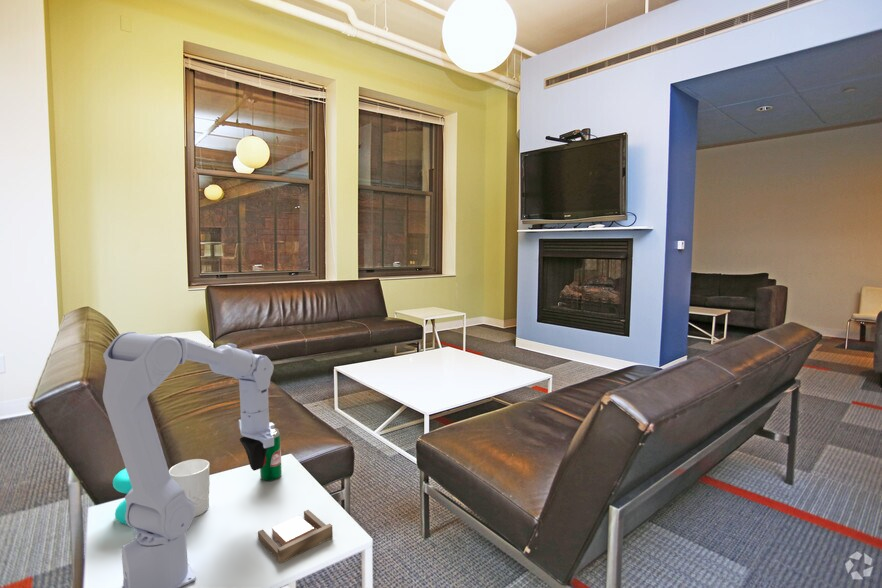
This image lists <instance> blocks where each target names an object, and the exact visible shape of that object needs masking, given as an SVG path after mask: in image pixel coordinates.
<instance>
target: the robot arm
mask: <svg viewBox="0 0 882 588" xmlns="http://www.w3.org/2000/svg"><path fill="white" fill-rule="evenodd" d="M237 347H238V345H237V344H235V343H231V342H230V343H229V342H228V343H226V344H221V345H219V346H217V347H212V346H210V345H206V344H203V343H200V342H198V341H195V340H192V339H189V338H188V337H187V338H186V337H178V336H172V335H157V334H148V333H138V332H135V331H126V332H122V333H120V334H119V335H117V336H116V337H115V338H114V339H113V340H112V341H111V343H110V344H109V345H108V347H107V348H106V349H105V351H104V353H103V354H102V357H103V360H104V363H105V365H106V366H105V367H106V370H105V377H104V383H103V384H104V385H103V389H102V390H103V391H102V401H103V404H104V405H103V406H104V407H105V410H106V413H107V416H108V418H109V422H110V425H111V428H112V431H113V433H114V437H115V440H116V444H117V446H118V449H119V452H120V454H121V457H122V461H123V463H124V464H123V465H124V467H125V468H126V470H127V473H128V476H129V479H130V482H131V485H132V489H131V490H130V491H129V492H128V493H126V495H125V496H124V500H126V504H127V508H126V513H125V520H126V523H127V524H126V525H128V526H129V527H130V528H133V530H134V536H136V537H135V538H134V539H133V540H131V541H130V542H128V543H126V544H124V545H123V546H121V562H122V573H123V574H122V576H123V580H122V582H123V584H122V585H123V588H181V587H184V586H185V585H188V584H190V583H192V582H195V580H197V576H196V573H194V571H193V569H192V567H191V566H190V564H189V562H188V561H189V560H188V559H189V558H188V547H187V544H188V543H187V531H188V530H189V528H190V526H191V524H192V522H193V520H194V518H195V517H194V514H195V506H194V503H193V502H192V501H191V500H190V499H188V498H187V497H186V495H185V492H184V490H183V489H182V488H181V487H180V486H179V485H178V484H177V483H176V482H175V481H174V480H173V479H172V478H171V477H170V473H169V470H170V469H169V467H168V464H167V460H166V457H165V455H164V450H163V448H162V443H161V440H160V438H159V433H158V429H157V427H156V424H155V420H154V417H153V413H152V411H151V406H150V403H149V400H148V397H149V395H150V394H151V393H153V392H155V390H156V389H157V388H158V387H159V386H160V385H161V384H162V383H163V382H164V381H165V380H167V378H169V376H170V375H171V374H172V373H173V372H174V371H175V370H176V368H177V367H178V365H184V364H185V362H186V361H190V362H196V363H200V364H205V365H206V364H207V365H209V368H210V370H211V372H213V373H214V374H218V375H222V376H227V377H231V378H234V379H235V380H238V382H239V383H238V387H239V405H240V419H238V429H239V431H240V432H239V433H240V435H241V437H240V438H239V442H240V443H241V444H242V447H243V448H244V450H245V453H246V455H247V459H248V463H249V466H250V468H251V470H252V471H257V470H260V469H261V468H263V465H264V460H265V456H266V452H267V449H268V447H271V446H274V437H273V436H272V433H271V428H275V425H276V424H275V423H274V422H271V421H270V408H269V402H270V401H269V388H270V386H271V378H272V375H273V373H274V369H275V367H274V364H273V362H272V360H271V359H270V358H269V357H268V356H267V355H263V354H256V353H253V350H251V349H240V348H237Z"/></svg>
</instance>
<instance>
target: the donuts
mask: <svg viewBox="0 0 882 588" xmlns="http://www.w3.org/2000/svg"><path fill="white" fill-rule="evenodd" d="M112 486H113V488H114V489H115V490H116V491H117V492H119V493H122V494H128V492H129V491H130V490H131V489H132V485H131V482H130V479H129V476H128V473H127V470H126V467H125V468H124V469H123V468H122V470H120V471H119V472H118V473H116V474H115V476H114V477H113V479H112ZM126 508H127V504H126V500H125V499H124V500H123V501H121V502H120V503H119V504H118V506H117V507H116V509H115V513H114V516H115V519H116V521H118V523H120V524H122V525H123V524H124V525H128V524H127V523H126V520H125V513H126Z"/></svg>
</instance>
